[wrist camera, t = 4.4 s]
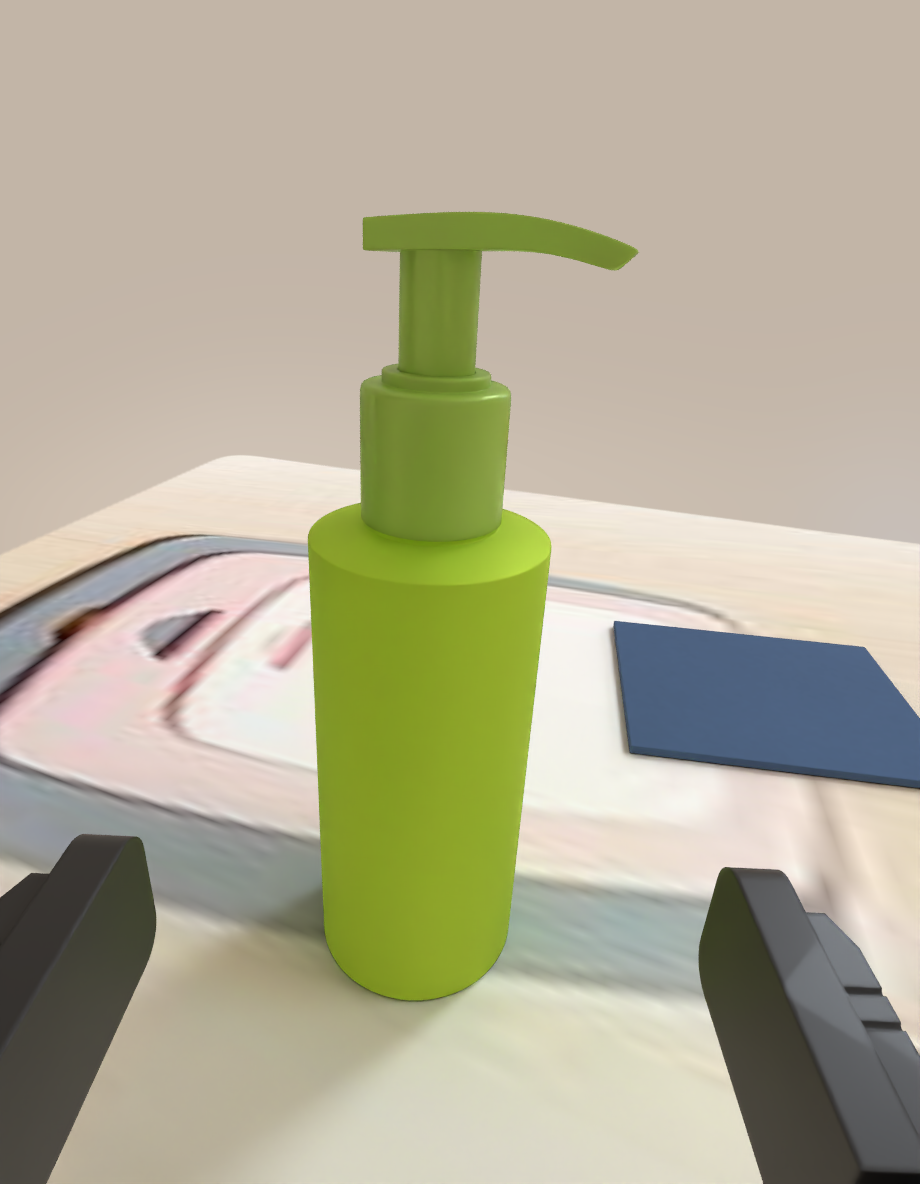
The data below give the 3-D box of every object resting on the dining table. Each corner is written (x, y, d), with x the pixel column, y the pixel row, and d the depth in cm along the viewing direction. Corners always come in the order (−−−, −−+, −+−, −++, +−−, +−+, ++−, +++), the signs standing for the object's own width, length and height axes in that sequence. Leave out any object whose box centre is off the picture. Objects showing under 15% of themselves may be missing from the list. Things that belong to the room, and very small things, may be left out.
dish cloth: (629, 753, 31) (630, 745, 31) (613, 626, 42) (614, 620, 42) (969, 794, 30) (973, 787, 30) (862, 652, 41) (864, 646, 40)
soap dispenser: (526, 1032, 20) (643, 211, 11) (293, 974, 21) (237, 194, 12) (550, 872, 25) (642, 229, 16) (361, 832, 26) (355, 215, 18)
